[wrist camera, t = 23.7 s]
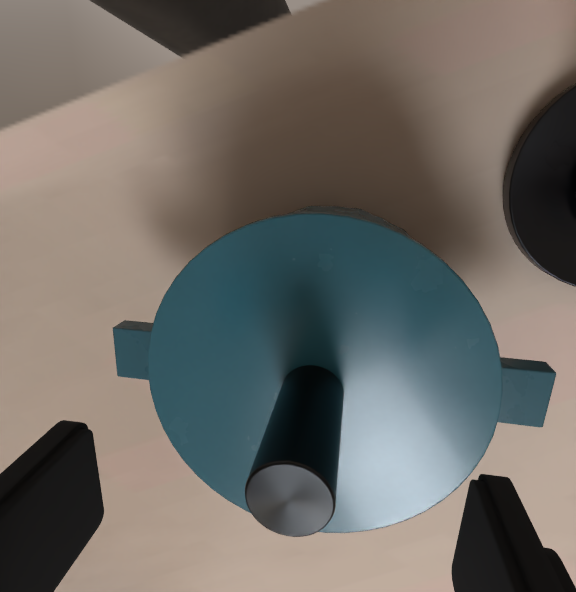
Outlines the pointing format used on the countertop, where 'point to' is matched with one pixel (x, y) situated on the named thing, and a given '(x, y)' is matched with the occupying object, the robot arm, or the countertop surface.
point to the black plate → (545, 189)
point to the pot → (515, 372)
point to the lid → (325, 373)
